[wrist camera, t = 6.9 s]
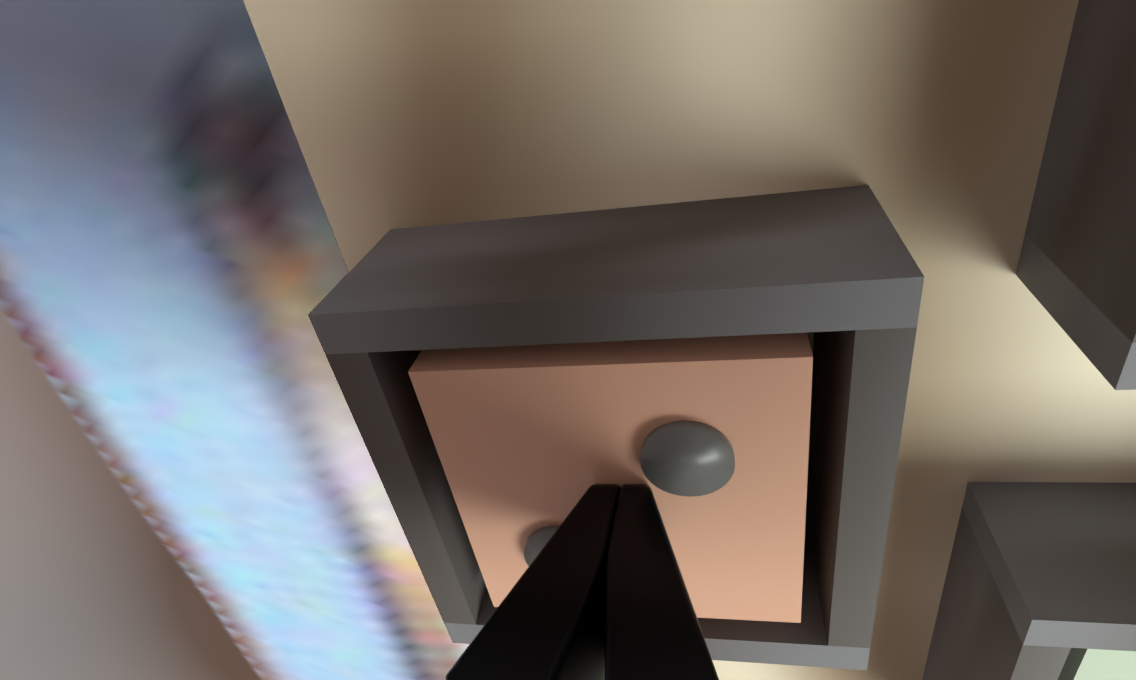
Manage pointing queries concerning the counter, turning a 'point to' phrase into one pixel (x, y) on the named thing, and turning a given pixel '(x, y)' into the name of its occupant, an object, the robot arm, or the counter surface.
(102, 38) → the counter surface
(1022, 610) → the button board
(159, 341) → the counter surface
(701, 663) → the robot arm
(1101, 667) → the sage tile
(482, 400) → the terracotta tile
